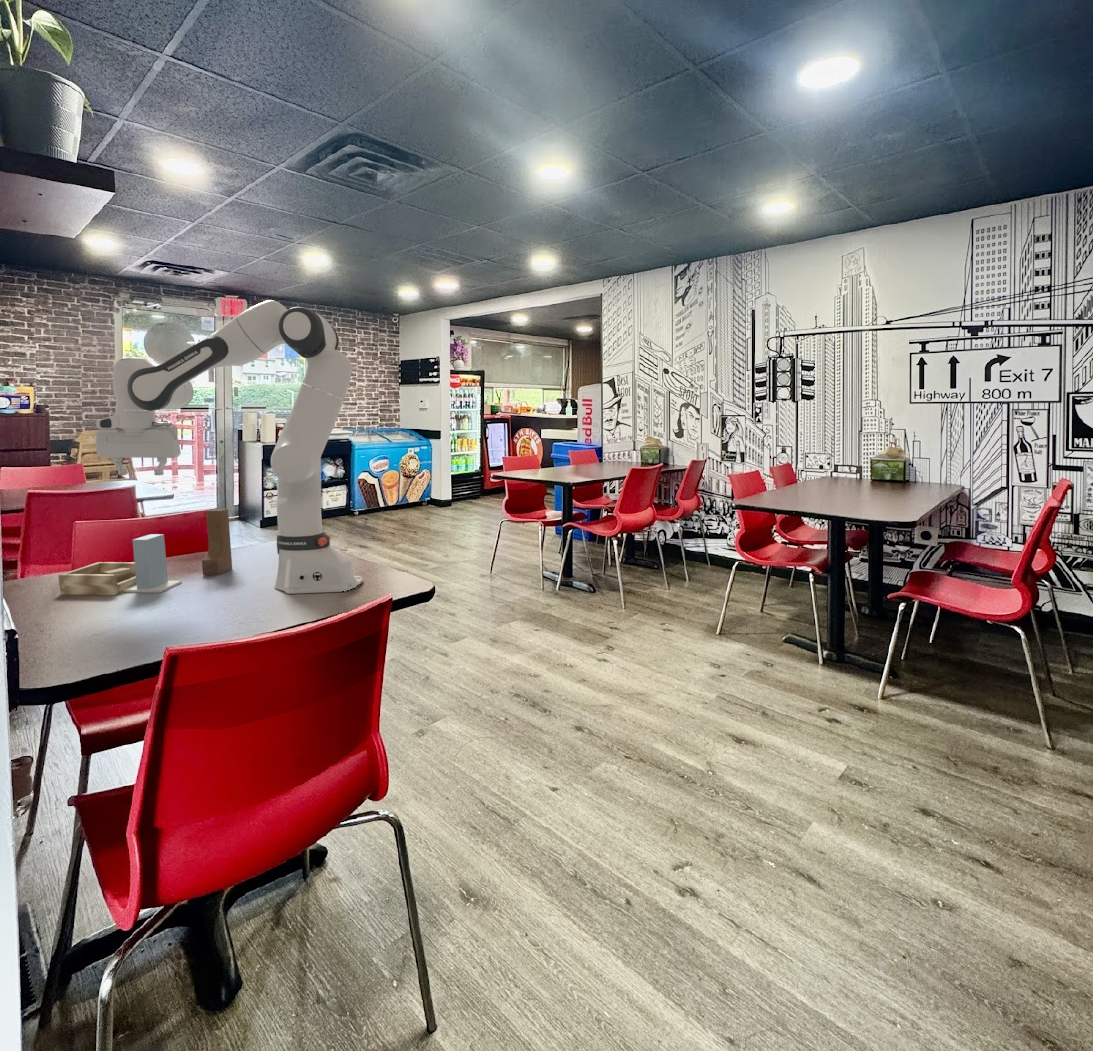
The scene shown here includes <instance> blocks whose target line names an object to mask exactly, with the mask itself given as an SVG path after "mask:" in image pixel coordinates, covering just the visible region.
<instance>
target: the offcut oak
mask: <svg viewBox="0 0 1093 1051" xmlns="http://www.w3.org/2000/svg"><path fill="white" fill-rule="evenodd" d="M102 573H103V574H115V575H116V576H117V581H119V580H124V579H128V578H131V569H130V568H119V569H114V570H109V571H104V572H102Z"/></svg>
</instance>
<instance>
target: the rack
mask: <svg viewBox="0 0 1093 1051" xmlns="http://www.w3.org/2000/svg"><path fill="white" fill-rule="evenodd" d="M119 568H130V569H131V576H133V577H132V578H129V579H127V580H124V581H122V582H119V583H117V576H116V575H115V574H103V573H102V572H104V571H109V570H114V569H119ZM57 577H58V583H59V590H60V591H59V593H60V595H91V596H92V595H93V596H94V595H97V596H100V595H101V596H104V595H107V596H111V595H112V596H116V595H118V594H122V593H124V592H123V590H124V589H126V588H129V587H131V586H134V585H136V584H137V583H136V573H135V562H134V561H131V562H126V561H123V562H122V561H119V562H115V561H104V562H103V561H97V562H95V563H94V562H93V563H91V564H88V565H85V566H83V567H79V568H76V569H73V570H70V571H68V572H64V573H60V574H58V576H57Z"/></svg>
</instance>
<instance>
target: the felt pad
mask: <svg viewBox="0 0 1093 1051" xmlns="http://www.w3.org/2000/svg"><path fill="white" fill-rule="evenodd" d="M180 584H182V580H168V582H166V583H164V584H161V585H159V586H157V587H155V588H152V589H137V584H136V585H134V586H131V587H129V588H126V589H124V590H123V592H122V593H152V594H153V593H154V594H155V593H160V594H161V593H162V592H165V591H168V590H170V589H172V588H173V587H176V586H177V585H180Z"/></svg>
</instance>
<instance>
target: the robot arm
mask: <svg viewBox="0 0 1093 1051" xmlns="http://www.w3.org/2000/svg"><path fill="white" fill-rule="evenodd" d="M285 344H286V345H287V346H288V347H289V348H290V349H291V350H293V351H294V352H295V353H297V355H299V356H300V357H302V358H303V359H305V361H306V363H307V367H306V372H305V375H304V377H303V380H302V383H301V385H300V388H299V391H298V393H297V395H296V397H295V398H296V399H295V401H294V404H293V406H292V408H291V411H290V413H289V416H288V417H287V420H286V421H285V424H284V425H283V428H282V430H281V433H280V435H279V437H278V439H277V441H276V444H275V445H274V448H273V451H272V454H271V456H270V467H271V471H272V472H273V474H274V475H275V476H276V478H277V496H276V498H277V499H276V517H277V534H276V550H277V554H278V555H277V556H278V565H277V574H276V580H275V584H274V588H275V589H276V590H279V591H283V592H284V593H286V594H288V595H289V594H312V593H313V594H314V593H316V594H318V593H320V594H321V593H342V591H344V592H348V591H347V590H349V591H351V590H350V589H352V588H354V587H356V586H357V585H358V584H359V583H361V582H362V583H363V577H362V576H360V575H355V573H354V568H353V564H352V562H351V560H350V559H349V558H348V557H347V556H345V555H344V554H342V553H341V552H339V551H338V550H336V549H335V548H333V547H332V546H331V539H332V534H329V535H328V534H326V533H325V532H324V531H323V521H322V520H323V519H322V463H321V462H322V459H321V458H322V455H323V453H324V451H325V448H326V445H327V443H328V441H329V439H330V437H331V434H332V432H333V430H334V427H335V424H336V422H337V419H338V416H339V414H340V411H341V409H342V406H343V404H344V400H345V399H346V398H345V397H347V396H346V395H347V392H348V391H349V385H350V381H351V378H352V371H353V364H352V362H351V360H350V359H349V357H347V356H346V355H345V354H344V353H342V352H341V351H339V350H338V348H339V345H340V342H339V337H338V333H337V331H336V329H335V328H334V326H333V325H332V324H330V323H329V322H328V321H327V319H325V318H324V317H323V316H322V315H320V314H319V313H317V312H315V311H314V310H313V309H311V308H307V307H305V306H304V307H303V306H294V307H291V308H289V309H288V308H286V306H284V305H283V304H281V303H280V302H278V301H276V300H274V299H273V300H272V299H269V300H264V301H263V302H260V303H258V304H255V305H254V306H251V307H250V308H248V309H246V310H243V311H242V312H240V313H239V314H237V315H236V316H235V317H233V318H231V319H230V320H228V322H226V323H225V324H223V325H222V326H220V327H219V328H217V330H215V331H214V332H212V333H211V334H210V335H208V336H206V337H204V339H202V340H201V341H199V342H197V343H195V344H193V345H192V346H190V347H188V348H187V349H185V350H183V351H181V352H180V353H178V354H176V355H175V356H173V357H172V358H170V359H168V360H166V361H165V362H163V363H160V364H159V365H156V364H154V363H152V362H151V361H150V360H149V359H148V358H145V357H138V356H137V357H127V358H120V359H119V360H117V361H115V363H114V364H113V369H112V389H113V395H114V397H115V401H116V402H115V408H114V410H115V411H114V412H115V414H113V415H110V416H107V417H103V418H101V419H100V418H99V419H98V420H96V421H95V424H96V428H97V429H98V430H97V431H96V433H95V450H96V451H95V452H96V454H97V455H98V456H99V458H112V460H111V461H112V464H113V465H114V466H115V468H117V474H118V475H119V476H125V475H126V476H127V475H128V474H129V473H128V467H125V466H124V465H123V463H122V462H123V458H131V459H132V458H135V459H137V458H142V459H143V458H146V459H147V458H149V459H155V458H156V462H157V463H158V465H157V467H156V468H153V471H154V472H153V473H154V476H163V475H164V473H165V472H164V469H165V466H166V465H167V462H168V459H175V458H178V457H179V456H181V446H180V442H179V437H178V436H179V435H178V427H177V426H176V425H175V424H173V423H172V422H171V421H165V422H161V421H157V419H156V411H158V410H159V411H160V410H178V409H182V408H185V407H187V406H188V405H189V404H191V402H192V401H193V397H194V388H193V385H192V383H191V381H192V380H194V379H196V378H197V377H199V376H200V375H202V374H203V373H205V372H207V371H211V370H213V369H216V368H217V369H218V368H221V367H231V366H232V367H234V366H235V367H236V366H243V365H247V364H249V363H252V362H254V361H255V360H258V359H260V358H261V357H262V356H264V355H265V354H267V353H268V352H270V351H271V350H273V349H274V348H276V347H278V346H280V345H285ZM362 583H361V584H362ZM356 588H357V587H356ZM352 590H353V589H352Z"/></svg>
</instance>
